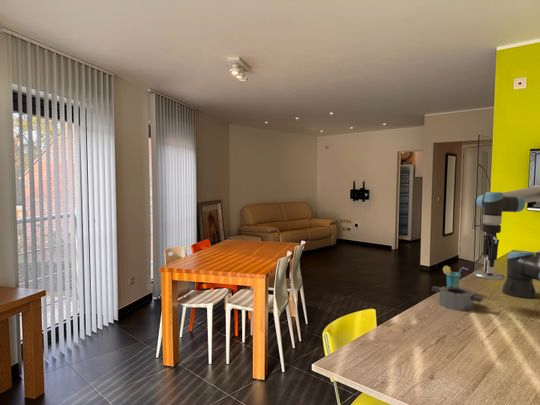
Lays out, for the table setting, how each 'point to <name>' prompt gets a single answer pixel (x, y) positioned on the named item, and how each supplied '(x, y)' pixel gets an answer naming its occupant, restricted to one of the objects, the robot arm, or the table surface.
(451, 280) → the cup
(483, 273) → the lid
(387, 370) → the table surface
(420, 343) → the table surface
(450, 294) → the pot
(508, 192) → the robot arm
